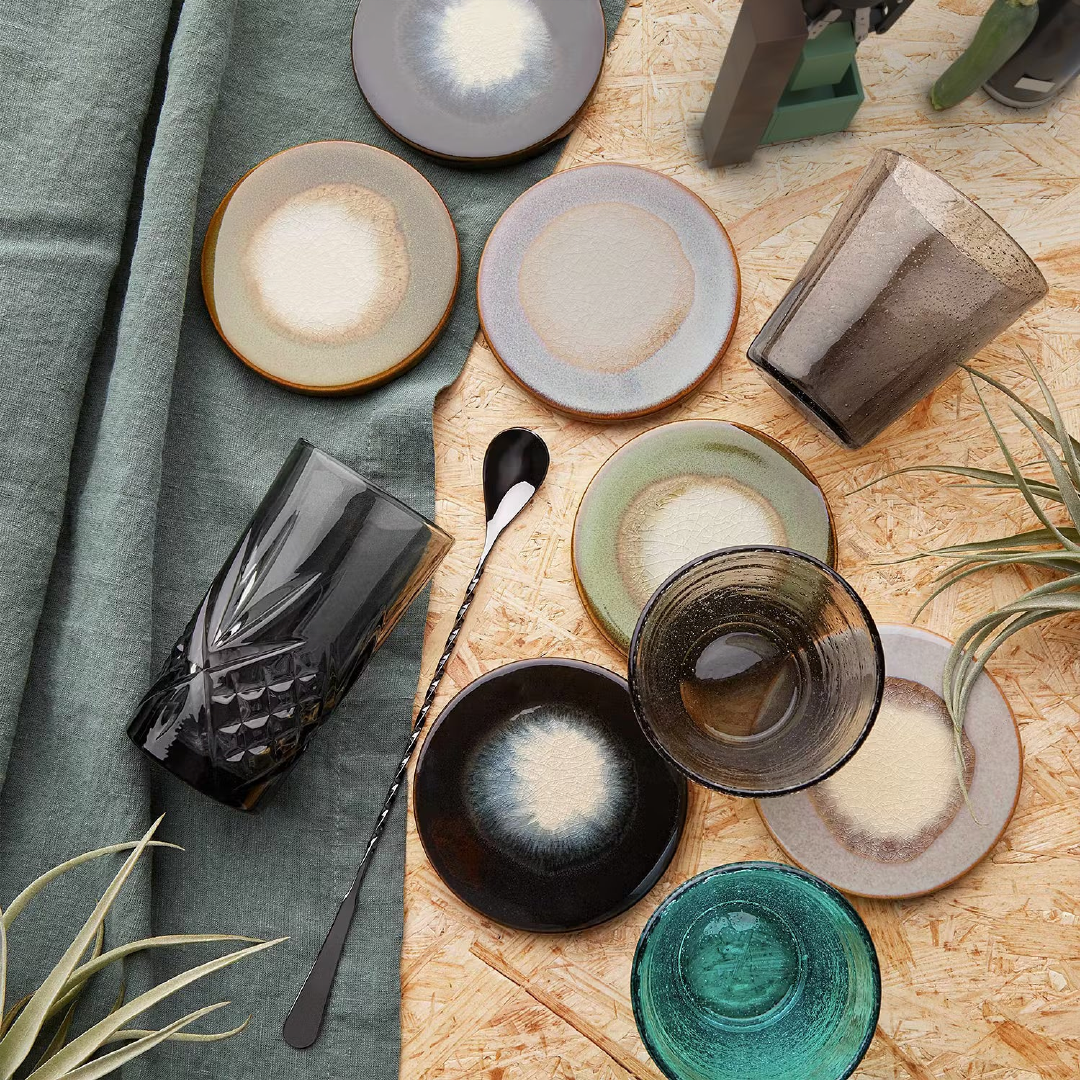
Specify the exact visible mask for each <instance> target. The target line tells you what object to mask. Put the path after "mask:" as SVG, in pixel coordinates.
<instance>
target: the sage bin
mask: <svg viewBox="0 0 1080 1080" xmlns="http://www.w3.org/2000/svg"><path fill="white" fill-rule="evenodd" d="M861 79H862V78H861V76H860V71H859V67H858V63H857V58H856V55H855V56H854V57H853V59H852V61H851V63H850V65H849V67H848V68H847V70H846V72H845V74H844V76H843V78H842V79H841V81H840V83H836V84H830V85H824V86H818V87H813V88H807V89H801V90H795V91H790V90H789V85H788V82H787V84H786V86H785V88H784V90H783V92H782V95H781V97H780V99H779V101H778V103H777V105H776V108H775V110H774V112H773V114H772V116H771V118H770V120H769V123H768V125H767V127H766V129H765V131H764V133H763V136H762V138H761V140H760V142H759V144H758V146H759V145H767V144H772V143H778V142H783V141H784V142H785V141H789V140H795V139H801V138H807V137H812V136H818V135H824V134H830V133H836V132H842V131H846V130H847V128H848V127H849V125H850V124H851V122H852V120H853V119H854V117H855V116H856V114H857V112H858V111H859V109H860V107H862V105H863V103H864V101H865V99H866V96H865V92H864V88H863V83H862V80H861Z"/></svg>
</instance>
